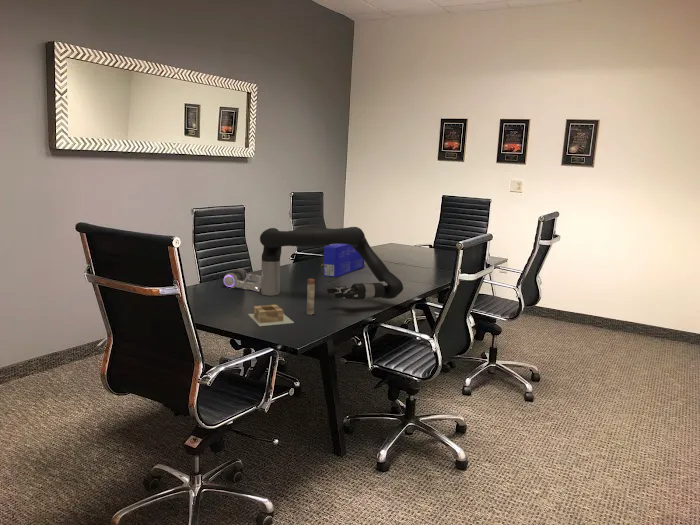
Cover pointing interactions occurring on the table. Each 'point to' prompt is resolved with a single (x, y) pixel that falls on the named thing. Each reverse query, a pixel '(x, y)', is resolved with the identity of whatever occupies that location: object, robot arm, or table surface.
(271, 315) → the wooden square frame
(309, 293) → the peg
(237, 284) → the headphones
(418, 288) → the table surface
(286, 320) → the mat
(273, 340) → the table surface
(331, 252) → the toner cartridge box
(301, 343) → the table surface
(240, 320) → the table surface
